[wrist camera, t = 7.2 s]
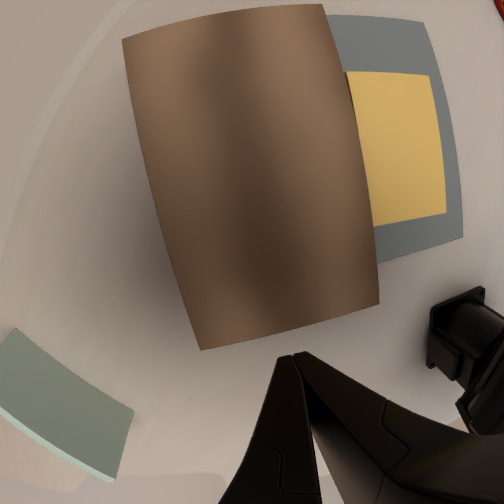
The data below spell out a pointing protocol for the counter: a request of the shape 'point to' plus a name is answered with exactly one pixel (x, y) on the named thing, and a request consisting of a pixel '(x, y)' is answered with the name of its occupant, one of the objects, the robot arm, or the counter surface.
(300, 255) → the brown flat block
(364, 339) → the counter surface
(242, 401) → the counter surface
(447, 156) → the mat
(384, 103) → the yellow flat block
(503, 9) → the canned food
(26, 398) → the right angle wall
